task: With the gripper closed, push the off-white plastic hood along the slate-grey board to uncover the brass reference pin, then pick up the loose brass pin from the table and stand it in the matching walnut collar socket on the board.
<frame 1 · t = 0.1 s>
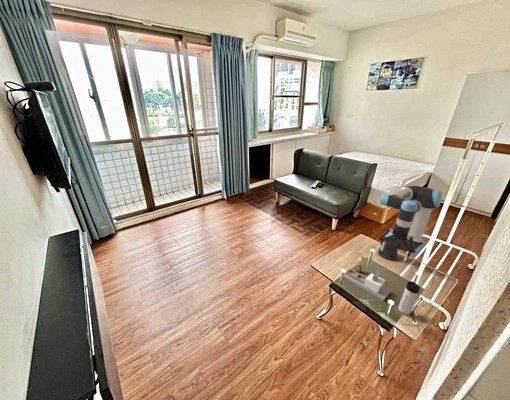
hand: (392, 255, 140), 28 cm above the table, fingers open, 13 cm apart
travel mug: (403, 311, 133), on the table
cover: (374, 280, 147), point 7 cm above the table, slide at 0.0 cm
board: (365, 284, 153), on the table
brass pin: (358, 271, 167), on the table
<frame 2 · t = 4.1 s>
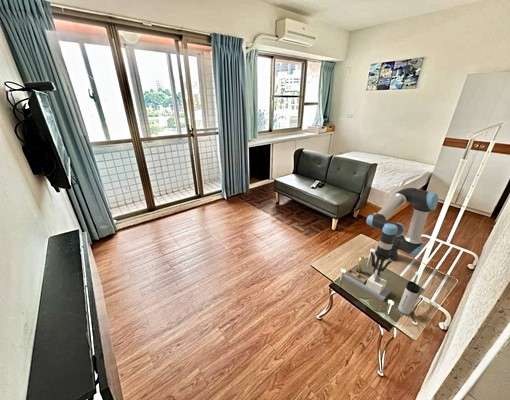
hand: (375, 277, 146), 10 cm above the table, fingers closed
cover: (376, 281, 146), point 7 cm above the table, slide at 1.3 cm, touching gripper
everything else where it was.
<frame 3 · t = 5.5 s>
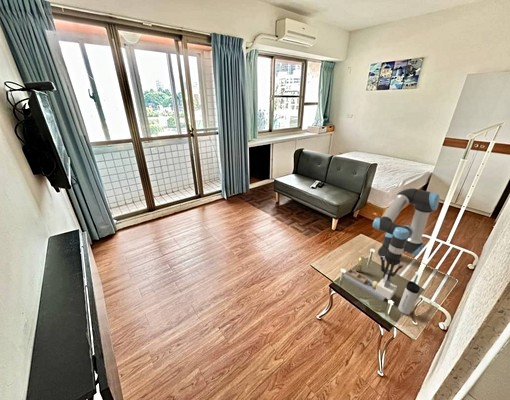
hand: (384, 282, 142), 10 cm above the table, fingers closed
cover: (386, 286, 142), point 7 cm above the table, slide at 7.4 cm, touching gripper
everything else where it was.
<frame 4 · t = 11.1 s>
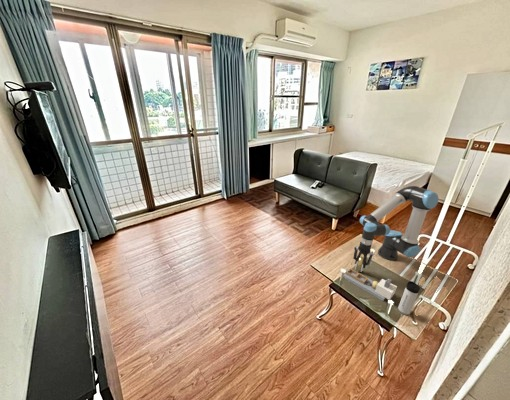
hand: (358, 269, 166), 2 cm above the table, fingers closed on brass pin, 3 cm apart
cover: (386, 286, 142), point 7 cm above the table, slide at 7.4 cm
brass pin: (358, 271, 167), on the table, touching gripper
everything else where it was.
when the fingers open (5 cm above the table, at t = 15.8 s): brass pin stays where it is, resting on board.
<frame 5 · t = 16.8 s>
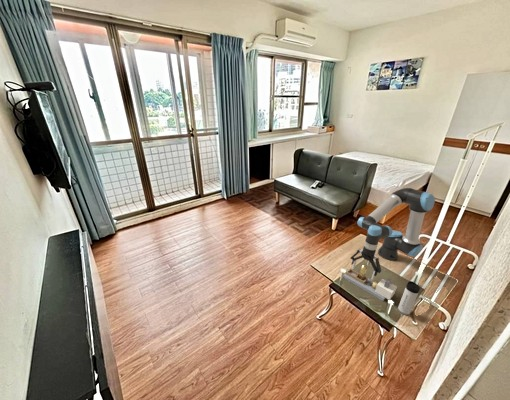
hand: (362, 273, 153), 7 cm above the table, fingers open, 13 cm apart
brass pin: (360, 279, 154), point 2 cm above the table, touching board
everything else where it was.
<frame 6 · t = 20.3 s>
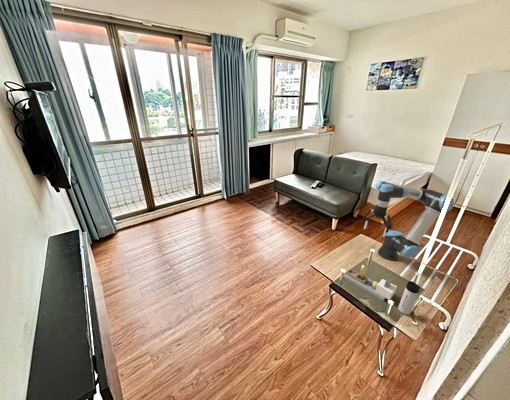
hand: (374, 232, 160), 32 cm above the table, fingers open, 13 cm apart
nothing on the table moved.
at the end: cover slide at 7.4 cm; brass pin 0.0 cm from the target spot on the board, point 2.0 cm above the board's base; brass pin tilted 0° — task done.
